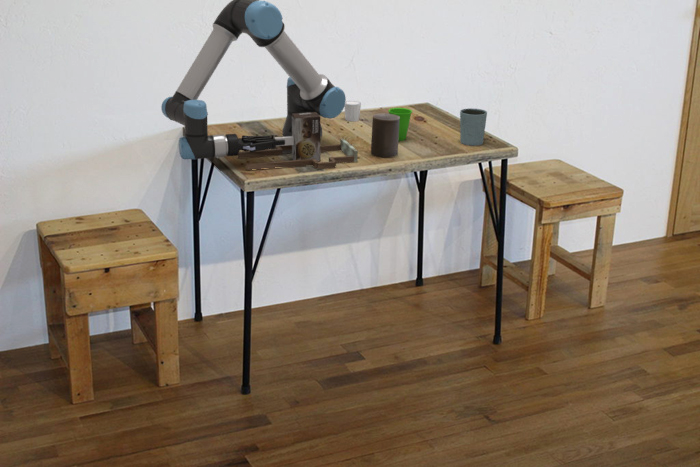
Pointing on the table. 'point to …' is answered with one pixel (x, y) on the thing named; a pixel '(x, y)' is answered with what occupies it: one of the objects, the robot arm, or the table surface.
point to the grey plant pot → (472, 126)
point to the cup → (402, 120)
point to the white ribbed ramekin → (352, 110)
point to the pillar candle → (385, 135)
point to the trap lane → (343, 146)
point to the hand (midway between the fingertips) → (293, 140)
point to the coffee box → (306, 136)
